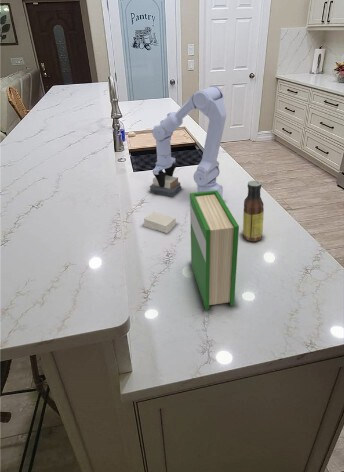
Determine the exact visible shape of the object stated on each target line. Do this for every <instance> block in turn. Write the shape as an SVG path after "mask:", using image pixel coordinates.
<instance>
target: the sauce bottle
mask: <svg viewBox="0 0 344 472" xmlns="http://www.w3.org/2000/svg"><path fill="white" fill-rule="evenodd" d="M261 190H262V182H260V181H258V180H249V181H248V182H247V196H246V197H245V198H244V200H243V215H242V217H243V218H242V219H243V220H242V221H243V223H242V225H243V226H242V234H243V238H244V239H245V240H247V241H249V242H259V241H260V240H261V239H262V237H263V230H264V212H265V211H264V205H265V204H264V201H263V199H262V197H261Z"/></svg>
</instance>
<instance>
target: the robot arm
mask: <svg viewBox="0 0 344 472" xmlns="http://www.w3.org/2000/svg"><path fill="white" fill-rule="evenodd" d="M224 100H225V94H224V93H223V91H222V90H221V89H220V87H218V86H217V85H211V86H209V87H206V88H204V89H199V90H197V91H195V93H193V94H192V95H190V96H189V98H188V99H187V100H186V101H185V102H184V103H183V105H181V107H180V108H179V109H178V110H177V111H172V112H168V113H167V114H166V117H165V118H164V120H161V121H160V122H159V123H160V124H158V125H155V126H153V129H152V137H153V139H154V140H155V145H156V146H155V147H156V148H155V149H156V162H155V167H154V168H153V169H152V174H153V176H154V178H155V177H156V179H157V181H158V184H159V186H160V187H164V185H165V177H166V175H168V176H172V177H174V172H175V170H176V169H177V164H176V157H172V148H171V147H172V146H171V140H172V136H173V134H174V132H175V131H177V129H178V128H180V127H181V126H182V125H183V121H184V118H186V117H187V116H189V114H190V113H191V112H193V111H194V110H198V111H199V112H201V113H202V114H203V115H204V116H206V118H208V126H207V131H206V136H205V141H204V147H203V152H202V158H201V161H200V162H199V163H198V165H197V167H196V170H195V171H194V173H193V180H194V183H195V184H196V187H197V188H196V193H197V192H206V191H215V190H217V191H218V192H219V194H220V196H221V197H222V198H223V195H224V194H223V192H224V189H223V187H224V186H223V185H222V184H219V183H218V182H217V178H218V177H219V175H220V162H219V161H218V157H219V152H220V147H221V142H222V138H223V133H224V129H225V124H226V119H227V110H226V107H225V101H224Z"/></svg>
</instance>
